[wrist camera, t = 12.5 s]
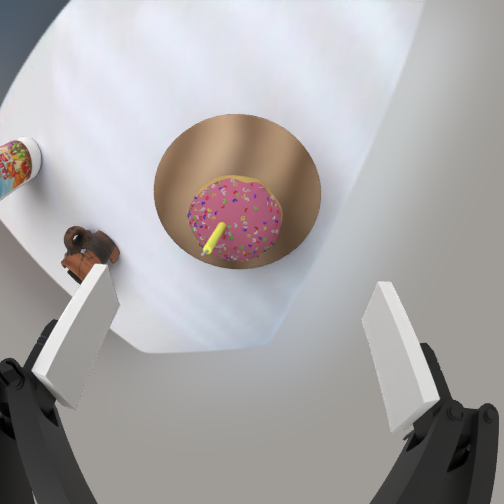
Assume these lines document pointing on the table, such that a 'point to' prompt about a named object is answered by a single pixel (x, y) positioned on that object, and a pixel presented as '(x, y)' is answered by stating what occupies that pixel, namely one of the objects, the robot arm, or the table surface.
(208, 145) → the cake stand
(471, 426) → the robot arm
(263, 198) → the cupcake
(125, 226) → the table surface
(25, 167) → the milk bottle
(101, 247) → the broken pottery fragment
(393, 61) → the table surface
